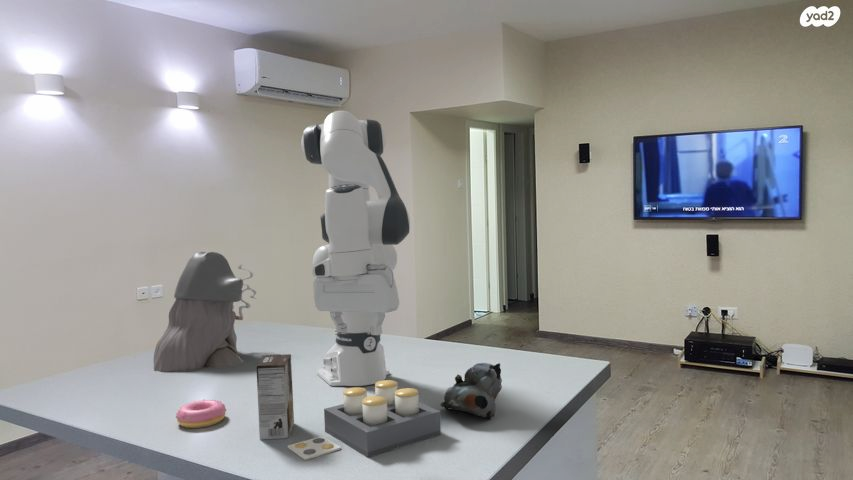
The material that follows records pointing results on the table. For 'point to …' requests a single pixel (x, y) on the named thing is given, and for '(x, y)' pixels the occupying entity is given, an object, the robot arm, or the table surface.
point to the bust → (203, 317)
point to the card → (314, 447)
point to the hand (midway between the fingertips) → (358, 333)
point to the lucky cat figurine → (475, 390)
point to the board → (382, 429)
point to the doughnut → (201, 413)
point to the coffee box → (275, 396)
